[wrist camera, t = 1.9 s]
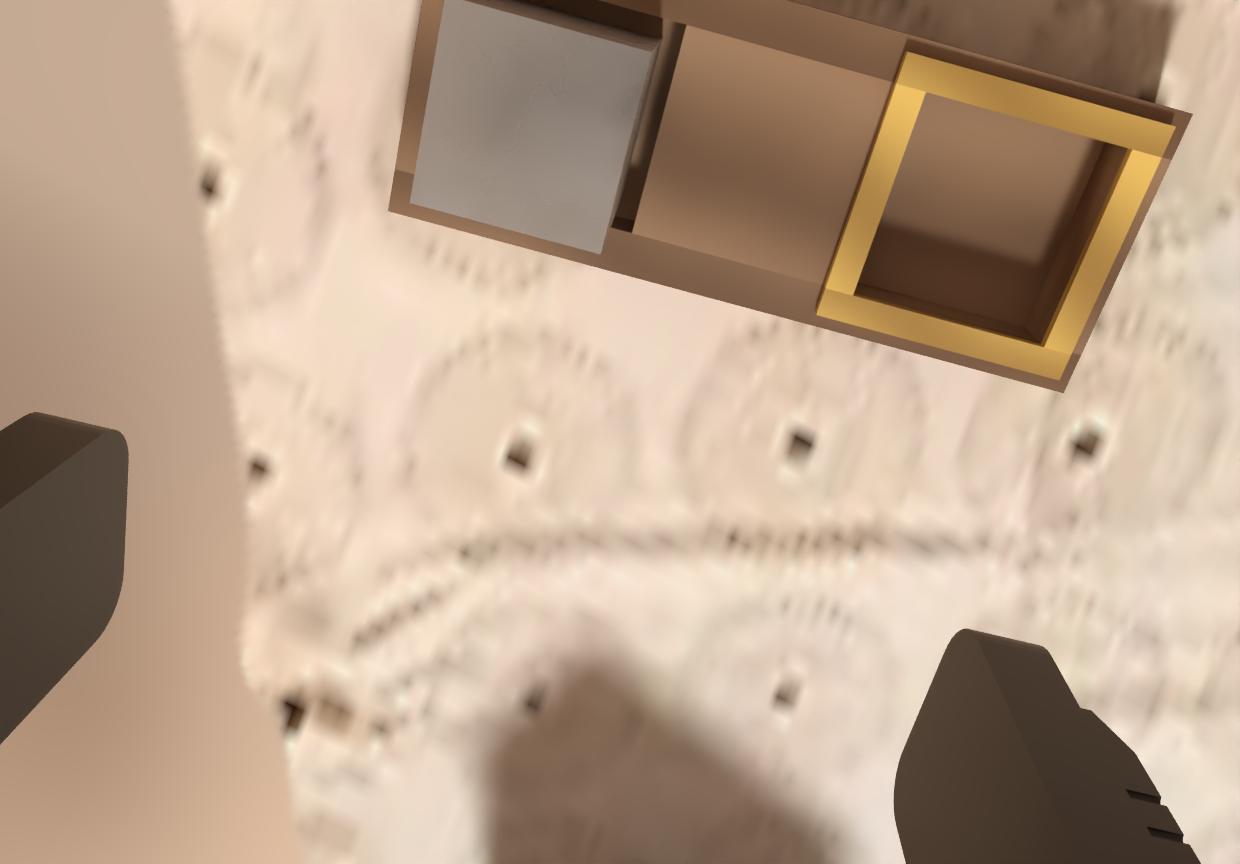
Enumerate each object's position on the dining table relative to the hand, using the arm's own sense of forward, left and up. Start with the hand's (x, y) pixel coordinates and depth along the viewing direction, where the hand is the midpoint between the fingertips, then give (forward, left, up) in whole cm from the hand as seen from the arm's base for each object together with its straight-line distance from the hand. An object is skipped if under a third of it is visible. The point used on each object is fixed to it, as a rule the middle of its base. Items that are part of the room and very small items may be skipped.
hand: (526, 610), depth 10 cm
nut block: (-2, -3, -22) cm, 22 cm away
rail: (-2, +3, -23) cm, 23 cm away
